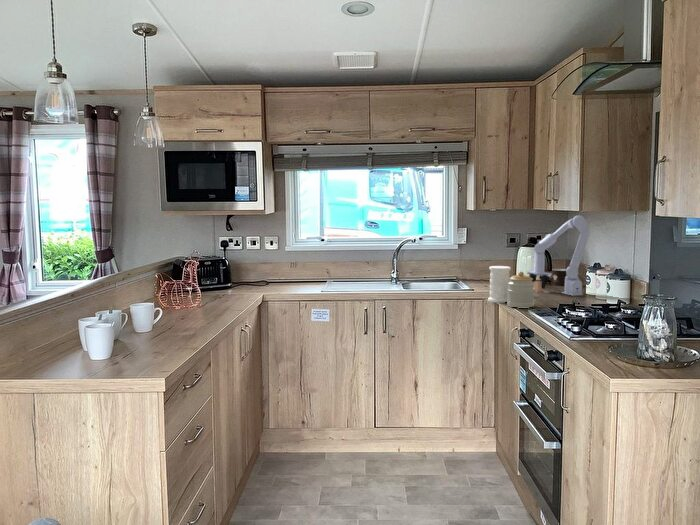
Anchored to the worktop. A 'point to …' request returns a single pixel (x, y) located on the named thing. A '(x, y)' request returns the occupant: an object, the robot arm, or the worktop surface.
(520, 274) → the jar
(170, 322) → the worktop surface
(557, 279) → the coffee mug
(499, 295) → the decorative container
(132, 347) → the worktop surface
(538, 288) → the pot terracotta
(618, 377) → the worktop surface
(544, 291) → the coaster
